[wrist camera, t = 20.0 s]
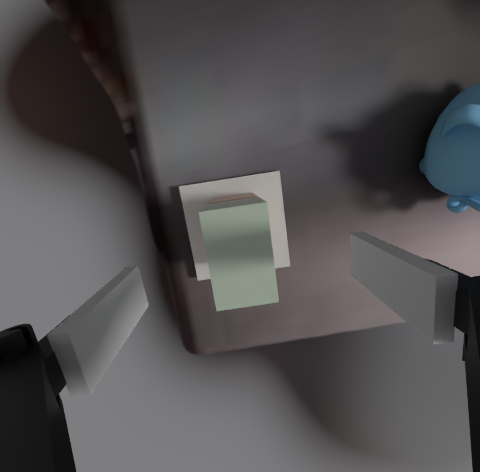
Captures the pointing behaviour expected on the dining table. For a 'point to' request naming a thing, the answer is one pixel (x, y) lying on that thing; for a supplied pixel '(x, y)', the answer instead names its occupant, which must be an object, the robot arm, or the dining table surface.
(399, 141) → the dining table surface
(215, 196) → the base plate
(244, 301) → the sage brick
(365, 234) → the robot arm
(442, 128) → the teapot
